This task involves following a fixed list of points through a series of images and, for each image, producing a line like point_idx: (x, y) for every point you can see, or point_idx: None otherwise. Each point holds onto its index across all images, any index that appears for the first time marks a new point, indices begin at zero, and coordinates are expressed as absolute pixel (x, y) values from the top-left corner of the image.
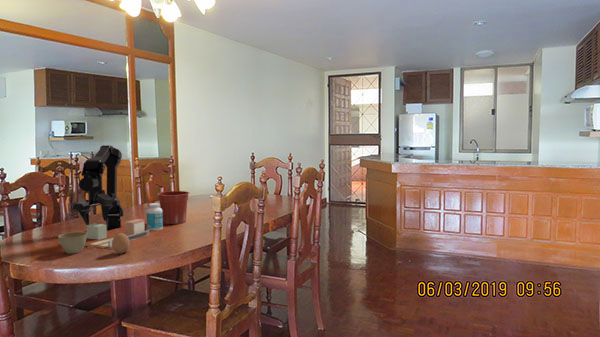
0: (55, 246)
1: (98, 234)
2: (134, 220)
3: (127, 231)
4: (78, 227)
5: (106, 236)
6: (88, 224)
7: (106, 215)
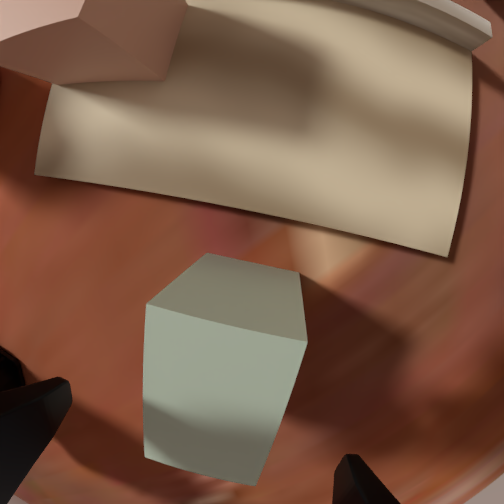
0: (415, 449)
1: (299, 296)
2: (15, 6)
3: (147, 36)
4: (78, 499)
5: (202, 261)
6: (353, 455)
7: (16, 408)
